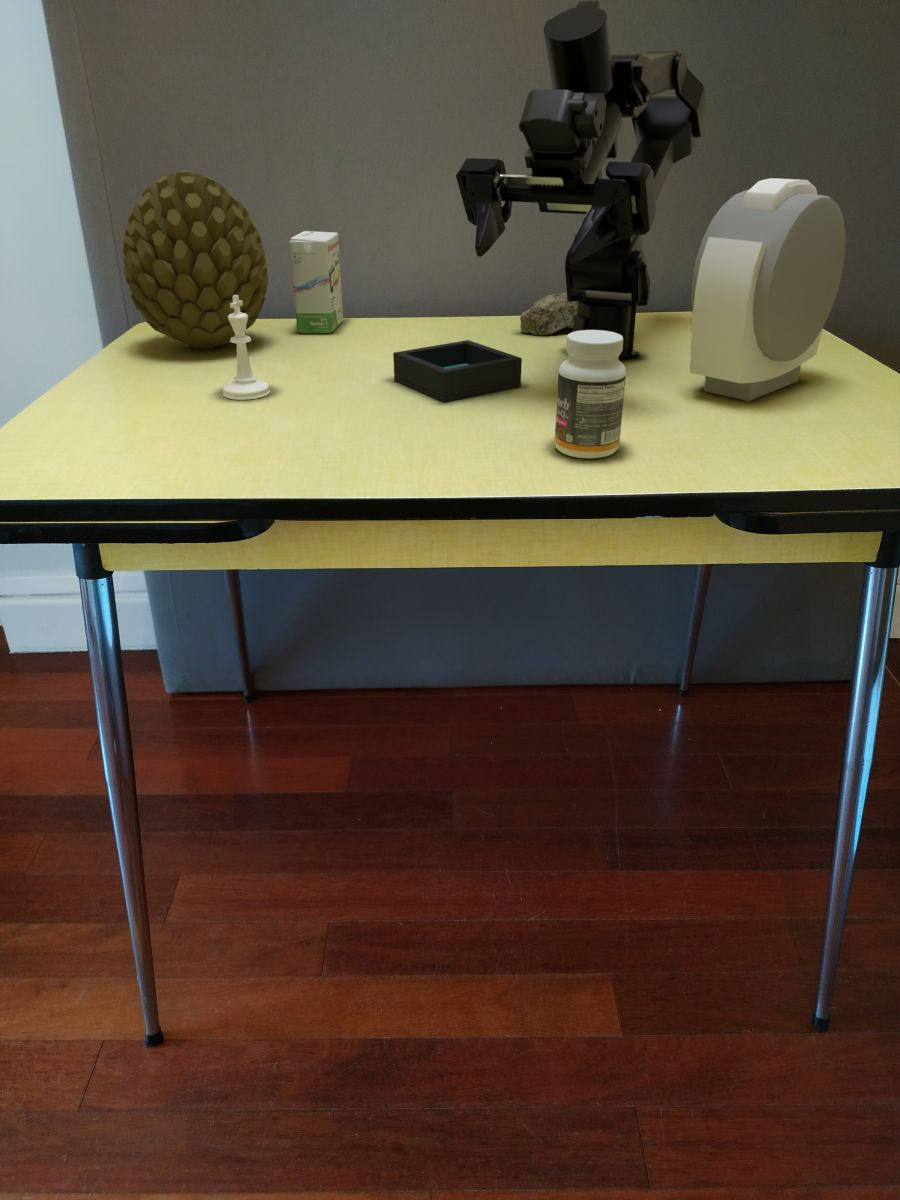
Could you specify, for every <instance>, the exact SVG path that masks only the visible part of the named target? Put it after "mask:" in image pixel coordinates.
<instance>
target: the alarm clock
mask: <svg viewBox="0 0 900 1200" xmlns="http://www.w3.org/2000/svg"><path fill="white" fill-rule="evenodd" d="M698 249H699V250H698V252H697V256H696V258H695V262H694V269H693V273H692V279H691V292H690V304H691V313H692V320H691V321H692V322H691V338H690V363H689V364H690V365H689V366H690V367H689V368H690V369H689V373H690V374H694V375H699V376H703V377H705V379H704V387H703V392H706V393H711V394H715V395H720V396H724V397H729V398H731V399H732V398H733V399H736V400H737V399H738V400H742V401H745V402H750V401H752V400H755V399H758V398H760V397H763V396H765V395H768V394H769V393H773V392H775V391H777V390H779V389H782V388H784V387H787V386H789V385H792V384H794V383H797V382H799V377H800V372H801V366H802V365H803V364H805V363H806V362H808V361H809V360H810V359H812V358H814V357H815V356H816V355H817V352H818V349H819V344H820V341H821V338H822V337H821V336H822V333H823V330H824V327H825V325H826V322H827V320H828V317H829V316H830V313H831V312H832V309H833V306H834V304H835V301H836V297H837V294H838V291H839V287H840V283H841V280H842V276H843V271H844V270H843V269H844V265H845V264H844V262H845V256H846V228H845V220H844V216H843V214H842V211H841V207H840V206H839V204H837V202H835V200H834V199H833V198H832V197H830V196H828V195H824V194H818V191H817V187H816V186H814V184H813V183H812V182H810V181H809V180H808V179H797V178H795V179H794V178H777V177H776V178H771V177H770V178H766V179H761V180H758V181H757V182H756V183H755V184H754V185H753V186H752V187H751V188H750V189H745V190H743V191H741V192H737V193H735V194H734V195H732V196H731V197H730V198H729V199H728V200H727V201H726V202H725V203H724V204H723V205H721V206H720V208H719V209H718V211H717V212H716V213H715V215H714V217H713V218H712V219H711V221H710V223H709V224H708V226H707V229H706V231H705V233H704V235H703V237H702V240H701V243H700V246H699V248H698Z"/></svg>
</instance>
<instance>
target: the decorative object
mask: <svg viewBox="0 0 900 1200" xmlns="http://www.w3.org/2000/svg"><path fill="white" fill-rule="evenodd" d="M175 173H176V174H174V173H171V174H170V173H169V174H166V175H163V176H162V177H160V178H158V180H157V181H156V186H155V184H154V183H152V182H151V184H150V185H149V186H148V187H147V189H145V191H143V192H142V194H141V196H142V197H141V199H140V201H139V203H137V204H134V205H133V207H132V209H131V211H130V214H129V215H128V219H127V224H126V228H125V233H124V236H123V240H122V254H123V256H122V257H123V264H124V266H122V267H123V273H124V278H125V282H126V284H127V285H128V287H129V290H130V292H131V294H130V297H131V300H132V302H133V304H134V306H135V308H136V309H137V310H138V311H139V312H140V314H141V316H142V317H143V318H144V319H145V322H146V323H147V324H148V325H149V326H150V328H152V329H153V330H154V331H155V332H157V333H160V334H162V335H164V336H166V337H169V338H170V339H173V340H174V341H177V342H178V343H180V344H183V345H185V346H186V347H189V348H194V349H205V350H206V349H213V348H217V347H220V346H224V345H226V344H228V343H231V342H230V340H231V337H234V335H235V333H234V331H233V328H232V326H231V323H230V322H229V319H228V316H229V315H230V314H232V313H234V308H230V303H233V296H234V295H238V296H239V300H241V301H242V302H243V305H242V306H240V312H242V313H245V314H247V315H248V321H247V325H246V331H247V330H249V328H251V327H252V326H253V325H254V324H255V322H256V321H257V319H258V317H259V314H261V312H262V309H263V308H264V304H265V301H266V294H267V288H268V285H269V275H268V265H267V259H266V253H265V249H264V246H263V241H262V239H261V235H260V232H259V230H258V228H257V226H256V225H255V223H254V220H253V219H252V217H251V216H250V214H249V212H248V210H247V209H246V208H245V206H244V205H243V204H242V203H241V202H240V200H239V199H238V198H237V197H236V196H235V195H234V193H232V192H230V191H229V190H228V189H227V188H225V187H224V186H223V185H222V184H220V183H219V182H218V181H216V180H215V179H214V178H213V177H211V176H209V175H207V174H203V175H202V174H199V173H192V171H191V170H183V171H181V170H179V171H176V172H175Z"/></svg>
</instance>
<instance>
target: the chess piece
mask: <svg viewBox="0 0 900 1200" xmlns="http://www.w3.org/2000/svg"><path fill="white" fill-rule="evenodd" d="M242 305H243V302H242V301H241V300H239V296H238V295H234V296H233V303H230V308H234V313H232V314H230V315H229V316H228V319H229V322H230V323H231V326H232V328H233V331H234V333H235V335H234V337H231V340H230V342H229V343H233V344H236V374H235V375H236V376H234V377H233V381H230V382H228V383H226V384H225V385H224V386H223V388H222V390H223V392H222V395H223V397H224V398H226V399H231V400H236V401H237V400H238V401H243V400H244V401H245V400H247V401H248V400H254V399H255V400H256V399H260V398H264V397H266V396H268V395H269V394H270V393H271V389H270V385H269V383H267V382H266V381H264V380H262V379H261V380H260V379H257V376H256V375H254V373H253V370H252V366H251V362H250V357H249V354H248V348H247V344H248V343H250V342H252V338H251V336H249V335H247V334H246V331H247V330H246V325H247V321H248V315H247V314H245V313H242V312H240V306H242Z"/></svg>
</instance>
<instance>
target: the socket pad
mask: <svg viewBox="0 0 900 1200" xmlns="http://www.w3.org/2000/svg"><path fill="white" fill-rule="evenodd" d="M392 353H393V354H392V355H393V359H392V360H393V380H394V381H395V382H397V383H399V384H400V385H401V384H402V385H404V386H406V387H408V388H410V389H413V390H415V391H417V392H420V393H422V394H424V395H427V396H429V397H431V398H434V399H435V400H438V401H441V402H443V403H447V402H451V401H457V400H462V399H466V398H471V397H476V396H481V395H486V394H491V393H496V392H500V391H507V390H509V389H510V390H511V389H515V388H520V387H522V366H523V365H522V363H523V362H522V361H523V360H522V359H523V358H522V357H520V356H517V355H514V354H511V353H509V352H505V351H502V350H499V349H497V348H493V347H490V346H488V345H484V344H481V343H479V342H475V341H472V340H469V339H466V340H461V341H455V342H447V343H442V344H436V345H431V346H424V347H418V348H412V349H406V350H402V351H401V350H400V351H394V352H392Z"/></svg>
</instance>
